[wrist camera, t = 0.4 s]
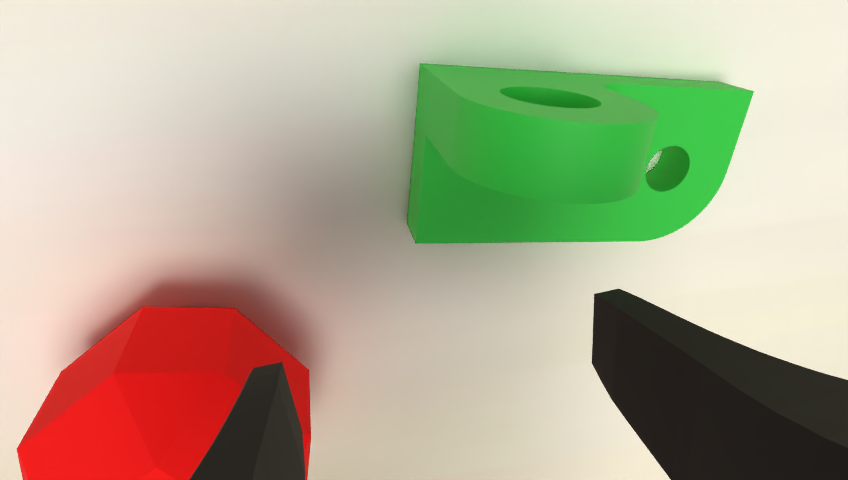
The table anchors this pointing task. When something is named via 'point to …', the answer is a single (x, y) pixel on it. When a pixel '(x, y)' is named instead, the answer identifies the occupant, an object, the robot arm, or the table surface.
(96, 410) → the red black angular block
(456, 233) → the mechanical part
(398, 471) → the table surface
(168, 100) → the table surface
